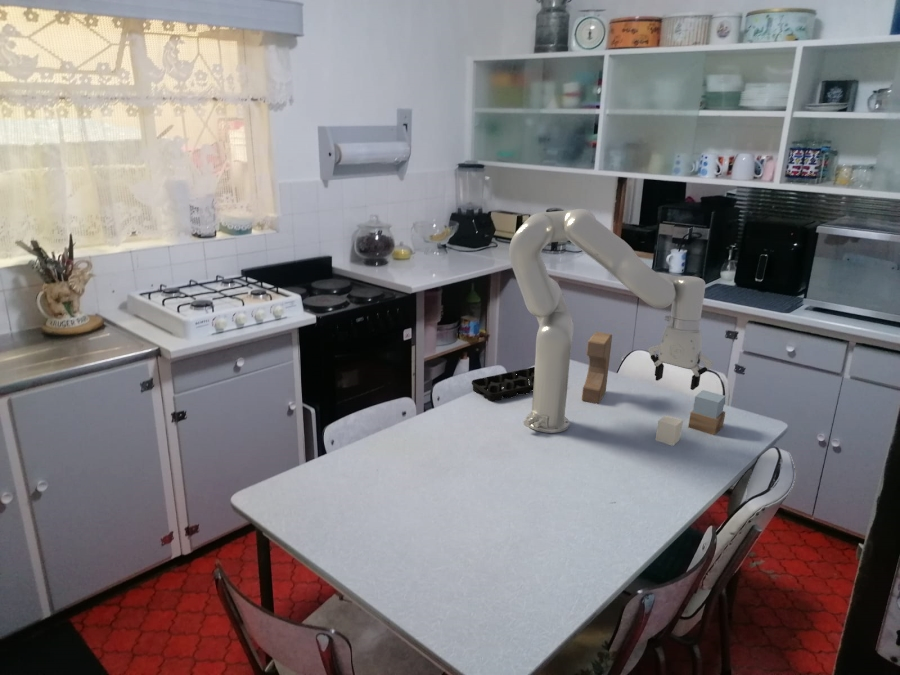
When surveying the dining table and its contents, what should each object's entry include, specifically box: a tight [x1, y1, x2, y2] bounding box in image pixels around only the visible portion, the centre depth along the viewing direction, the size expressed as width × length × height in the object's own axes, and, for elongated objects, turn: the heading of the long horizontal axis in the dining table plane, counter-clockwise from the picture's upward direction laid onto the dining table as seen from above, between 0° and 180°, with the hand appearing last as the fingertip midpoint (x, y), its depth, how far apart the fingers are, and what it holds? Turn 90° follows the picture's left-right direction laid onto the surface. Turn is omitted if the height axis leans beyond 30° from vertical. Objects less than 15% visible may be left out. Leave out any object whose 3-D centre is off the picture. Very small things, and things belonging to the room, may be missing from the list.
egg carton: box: [471, 366, 535, 402], centre depth 213 cm, size 18×30×4 cm, turn 134°
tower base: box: [688, 410, 726, 436], centre depth 189 cm, size 8×8×5 cm
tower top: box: [692, 389, 726, 419], centre depth 188 cm, size 6×6×5 cm
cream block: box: [655, 414, 684, 447], centre depth 180 cm, size 5×5×6 cm
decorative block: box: [581, 331, 613, 405], centre depth 206 cm, size 11×6×20 cm, turn 155°
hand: (675, 383), depth 177 cm, fingers open, 9 cm apart
